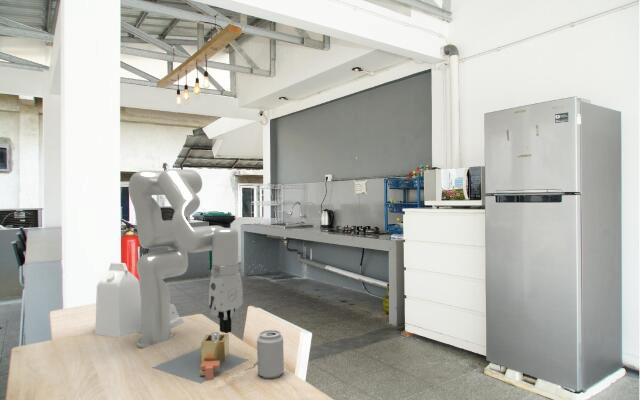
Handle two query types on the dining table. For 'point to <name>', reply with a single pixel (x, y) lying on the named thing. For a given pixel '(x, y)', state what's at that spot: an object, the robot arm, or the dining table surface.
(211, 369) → the pink t-shaped block
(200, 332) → the dining table surface
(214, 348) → the link
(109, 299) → the milk
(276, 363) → the can
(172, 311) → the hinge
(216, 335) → the cylinder
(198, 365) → the base plate
